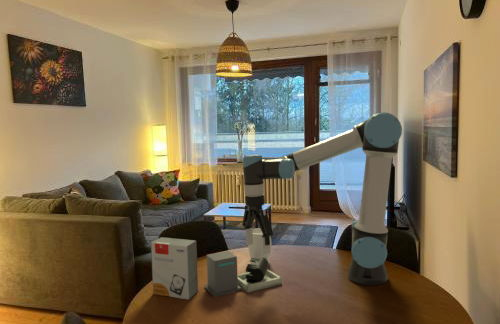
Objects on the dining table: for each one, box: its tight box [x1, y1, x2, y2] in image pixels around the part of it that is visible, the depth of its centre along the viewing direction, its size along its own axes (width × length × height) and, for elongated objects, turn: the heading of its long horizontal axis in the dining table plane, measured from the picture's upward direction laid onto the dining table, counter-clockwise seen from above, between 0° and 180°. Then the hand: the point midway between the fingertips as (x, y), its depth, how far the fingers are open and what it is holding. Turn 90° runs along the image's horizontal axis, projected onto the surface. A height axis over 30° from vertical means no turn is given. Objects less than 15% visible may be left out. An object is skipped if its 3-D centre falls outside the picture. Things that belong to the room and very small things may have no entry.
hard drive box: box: [150, 237, 199, 301], centre depth 139 cm, size 16×8×20 cm, turn 70°
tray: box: [237, 268, 283, 293], centre depth 147 cm, size 12×15×2 cm
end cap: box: [245, 257, 270, 283], centre depth 147 cm, size 10×7×7 cm
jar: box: [247, 227, 272, 264], centre depth 168 cm, size 11×10×15 cm
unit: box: [203, 250, 243, 298], centre depth 142 cm, size 10×11×13 cm
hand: (257, 248), depth 146 cm, fingers open, 13 cm apart
